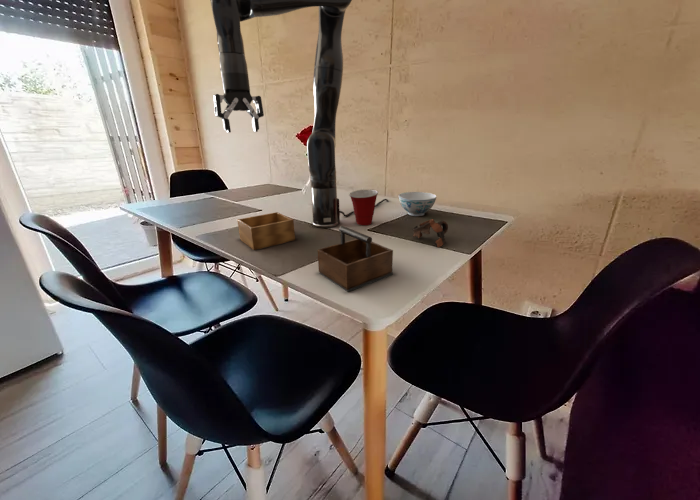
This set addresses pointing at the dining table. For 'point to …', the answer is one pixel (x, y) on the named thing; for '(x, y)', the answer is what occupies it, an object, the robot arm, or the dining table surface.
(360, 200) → the plastic cup
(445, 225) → the brown toy animal
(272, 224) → the box
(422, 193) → the chinaware
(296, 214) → the dining table surface
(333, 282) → the mat
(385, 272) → the box
